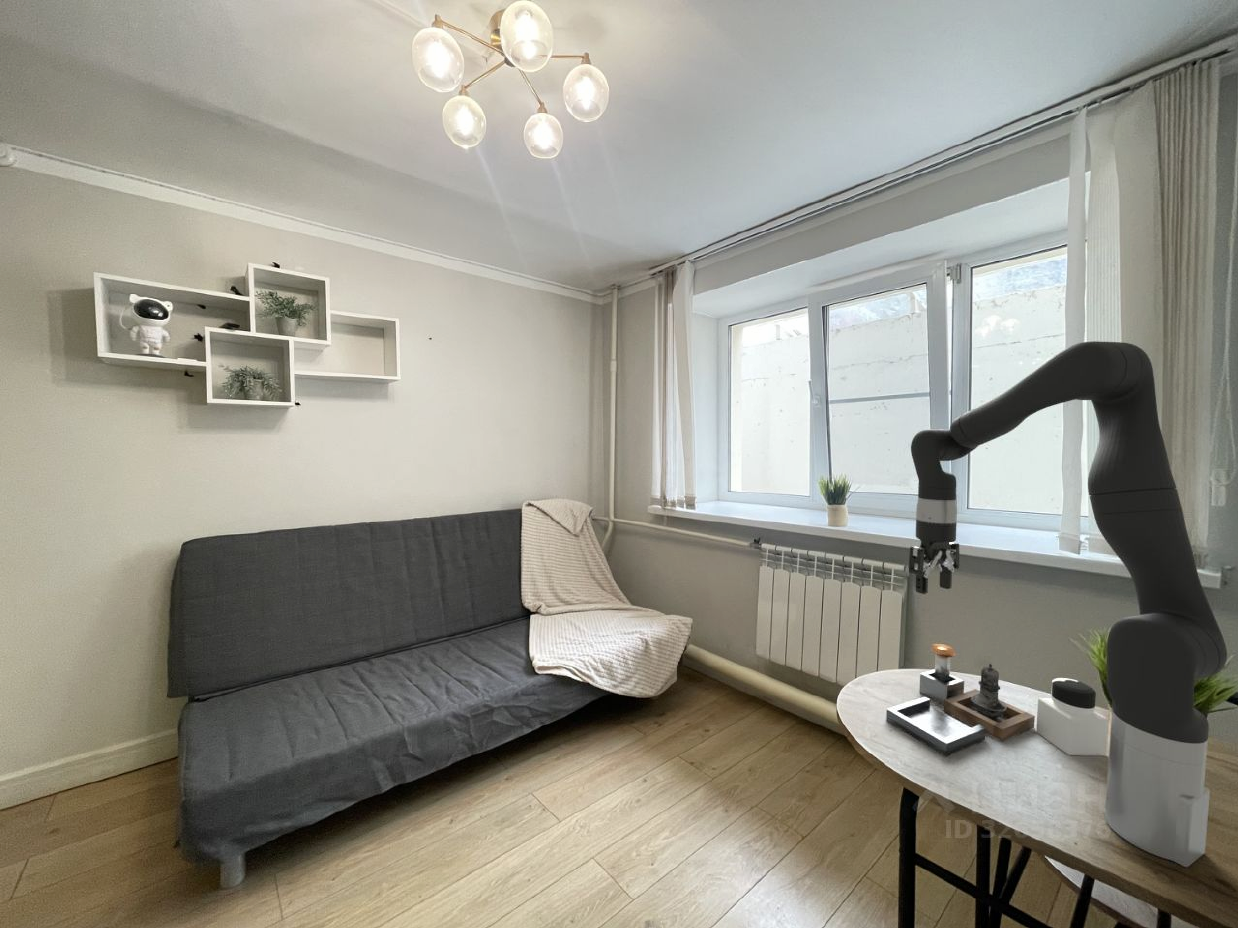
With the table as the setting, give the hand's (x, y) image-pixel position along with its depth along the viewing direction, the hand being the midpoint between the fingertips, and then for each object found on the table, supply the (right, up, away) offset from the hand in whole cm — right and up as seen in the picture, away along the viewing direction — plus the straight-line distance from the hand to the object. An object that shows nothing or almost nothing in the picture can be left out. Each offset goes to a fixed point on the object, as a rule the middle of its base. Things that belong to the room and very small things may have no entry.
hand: (933, 590), depth 106 cm
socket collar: (+6, -25, -7) cm, 27 cm away
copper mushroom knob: (+3, -20, +1) cm, 20 cm away
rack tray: (-7, -25, -11) cm, 28 cm away
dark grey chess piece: (+6, -25, -7) cm, 27 cm away
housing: (+3, -24, +1) cm, 25 cm away
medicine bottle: (+16, -26, -15) cm, 34 cm away
